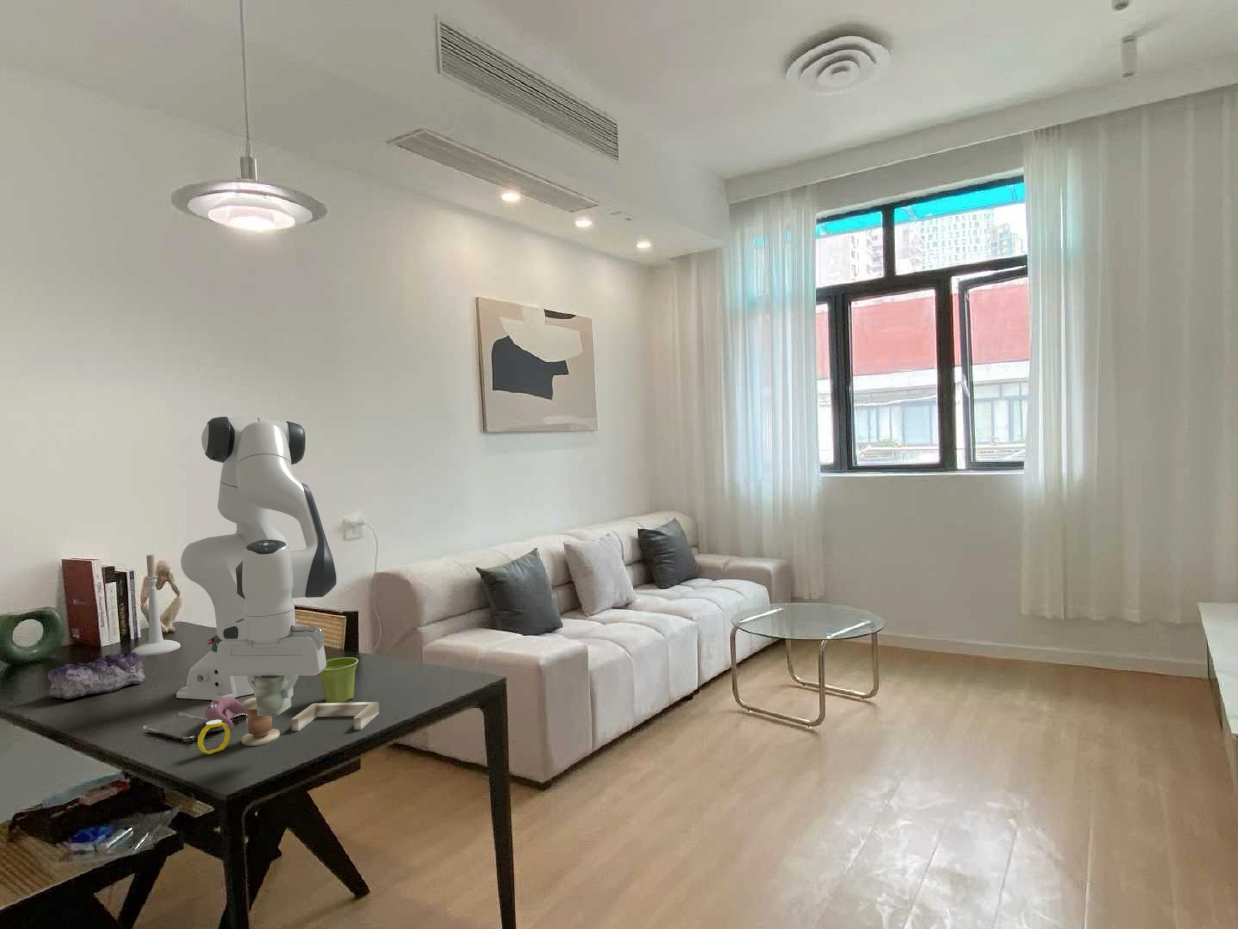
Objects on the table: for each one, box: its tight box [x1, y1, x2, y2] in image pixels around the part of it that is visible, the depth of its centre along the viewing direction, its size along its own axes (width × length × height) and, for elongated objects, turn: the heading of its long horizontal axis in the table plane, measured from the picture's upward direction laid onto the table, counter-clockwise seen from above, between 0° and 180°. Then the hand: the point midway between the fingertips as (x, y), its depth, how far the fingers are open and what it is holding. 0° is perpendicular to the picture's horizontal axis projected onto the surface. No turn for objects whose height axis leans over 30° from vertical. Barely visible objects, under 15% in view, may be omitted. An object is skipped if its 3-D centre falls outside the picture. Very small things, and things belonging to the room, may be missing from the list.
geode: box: [47, 651, 146, 700], centre depth 191 cm, size 20×12×10 cm, turn 136°
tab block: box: [255, 676, 292, 717], centre depth 143 cm, size 4×5×7 cm
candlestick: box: [131, 554, 181, 657], centre depth 229 cm, size 13×13×30 cm
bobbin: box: [241, 696, 281, 747], centre depth 152 cm, size 7×7×8 cm
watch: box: [197, 720, 231, 755], centre depth 147 cm, size 6×3×6 cm, turn 151°
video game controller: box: [204, 695, 247, 731], centre depth 163 cm, size 10×5×7 cm, turn 5°
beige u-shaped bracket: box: [290, 701, 380, 732], centre depth 160 cm, size 15×10×2 cm, turn 86°
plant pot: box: [318, 656, 359, 703], centre depth 175 cm, size 9×9×9 cm
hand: (273, 697), depth 143 cm, fingers closed on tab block, 4 cm apart
